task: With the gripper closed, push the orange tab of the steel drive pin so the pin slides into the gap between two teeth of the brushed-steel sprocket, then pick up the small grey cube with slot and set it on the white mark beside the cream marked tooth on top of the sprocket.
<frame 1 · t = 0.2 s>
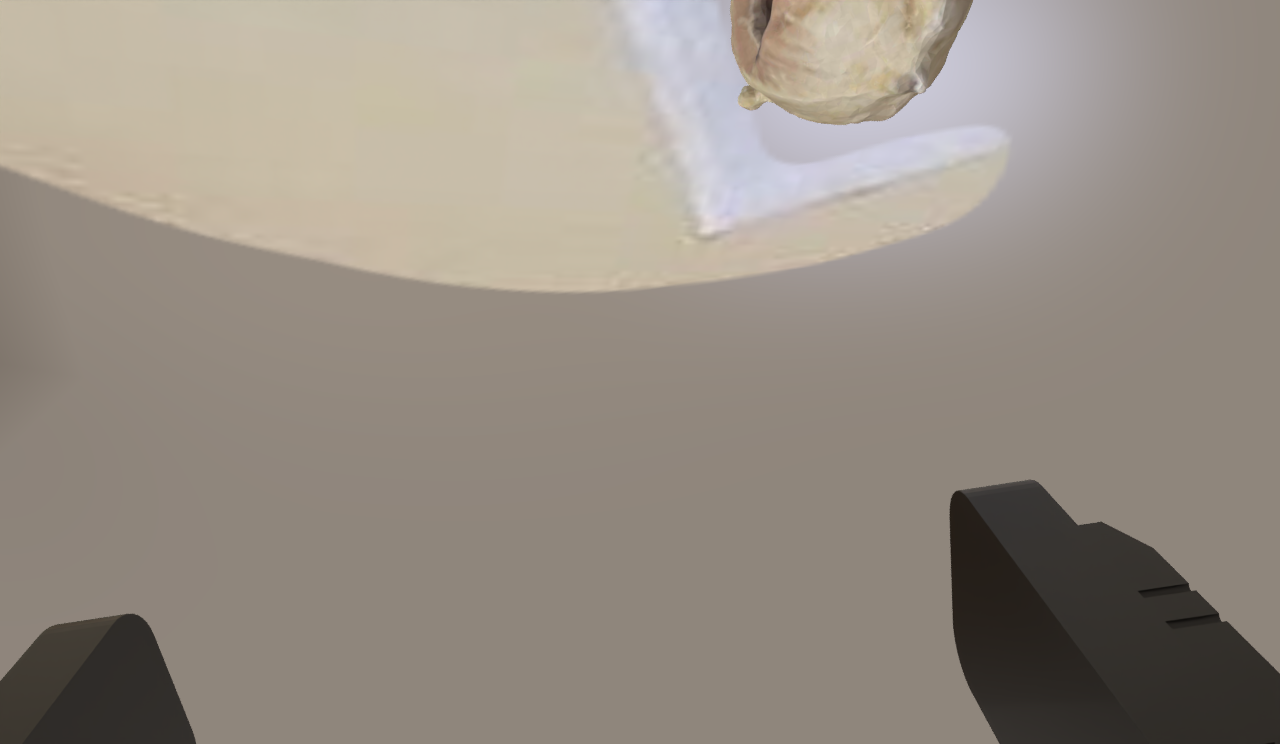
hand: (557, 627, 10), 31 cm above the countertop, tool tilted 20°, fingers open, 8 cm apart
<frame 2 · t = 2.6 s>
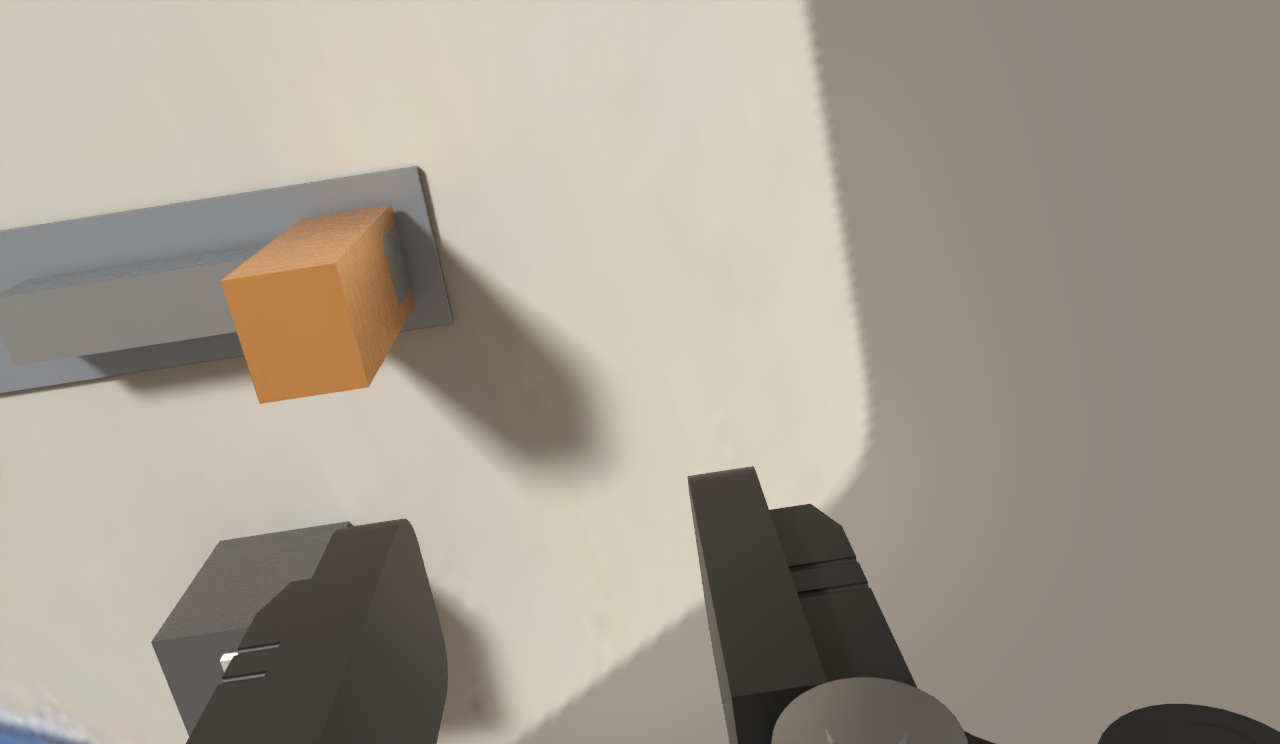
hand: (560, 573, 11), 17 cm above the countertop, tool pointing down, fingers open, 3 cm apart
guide: (166, 287, 27), on the countertop
grey cube with slot: (302, 585, 30), on the countertop
drive pin: (176, 318, 23), point 4 cm above the countertop, slide at 0.0 cm
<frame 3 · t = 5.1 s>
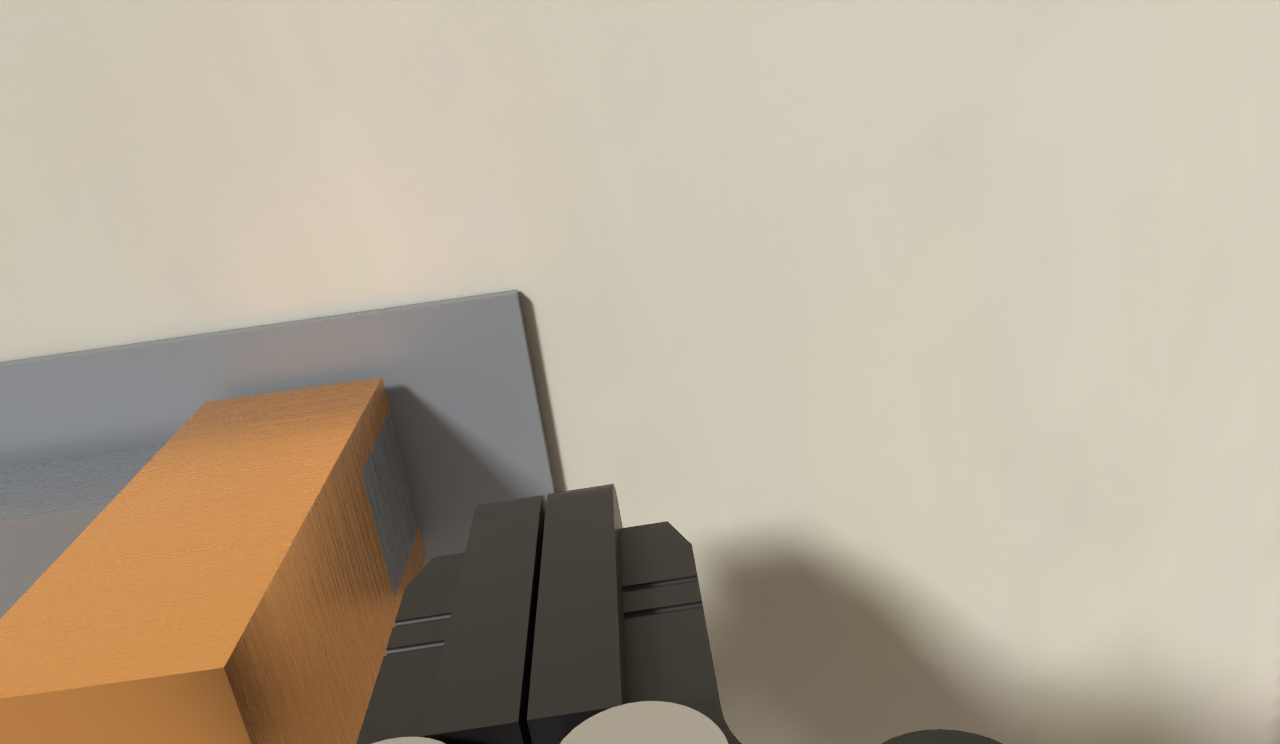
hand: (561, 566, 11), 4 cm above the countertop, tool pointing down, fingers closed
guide: (30, 506, 14), on the countertop
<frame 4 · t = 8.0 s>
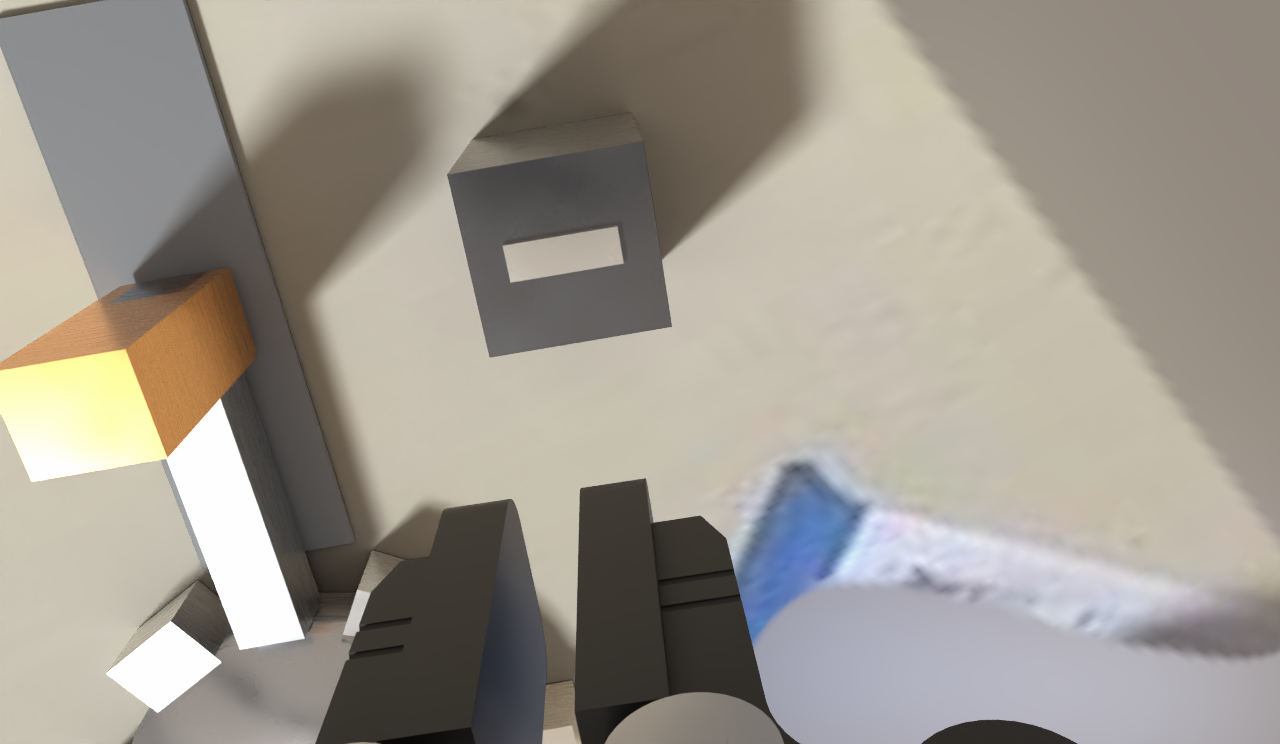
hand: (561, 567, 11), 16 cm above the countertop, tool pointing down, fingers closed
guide: (194, 308, 25), on the countertop
grey cube with slot: (566, 204, 25), on the countertop
drive pin: (195, 507, 23), point 3 cm above the countertop, slide at 5.7 cm, touching sprocket
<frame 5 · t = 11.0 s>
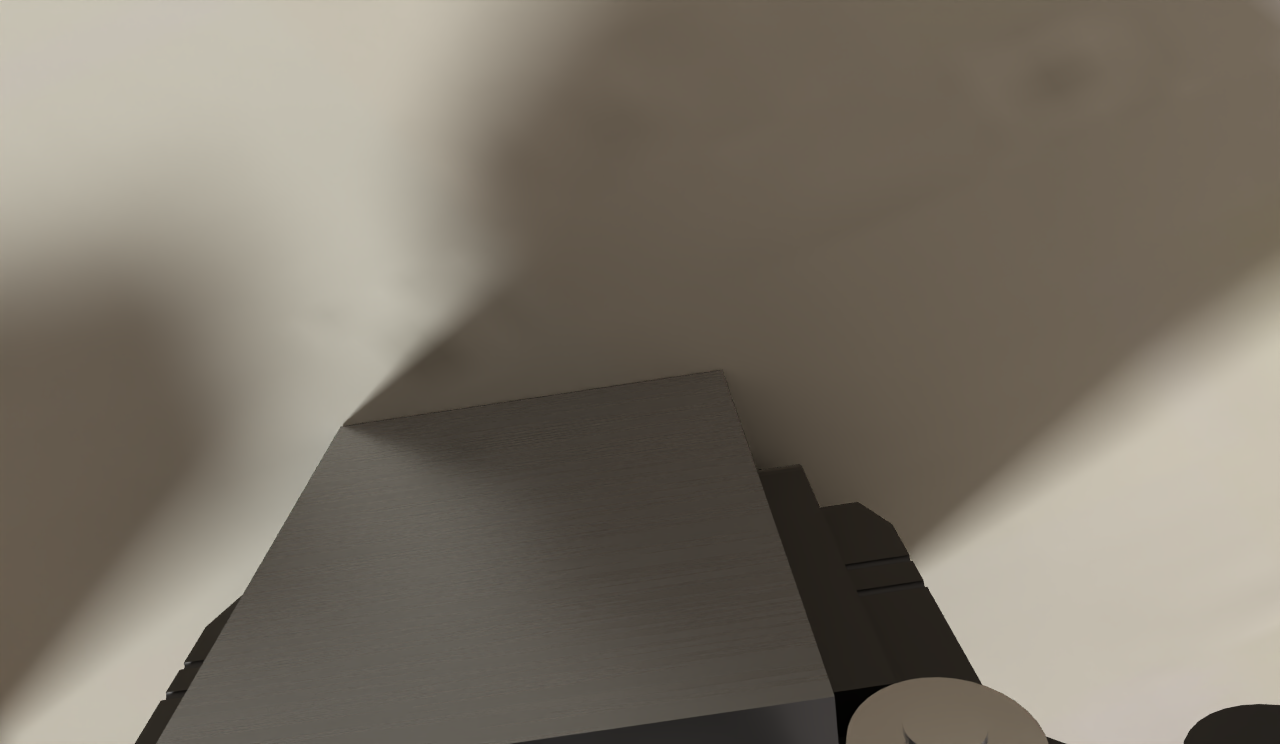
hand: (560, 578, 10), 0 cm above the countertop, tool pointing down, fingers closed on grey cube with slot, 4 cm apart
grey cube with slot: (563, 562, 11), on the countertop, touching gripper
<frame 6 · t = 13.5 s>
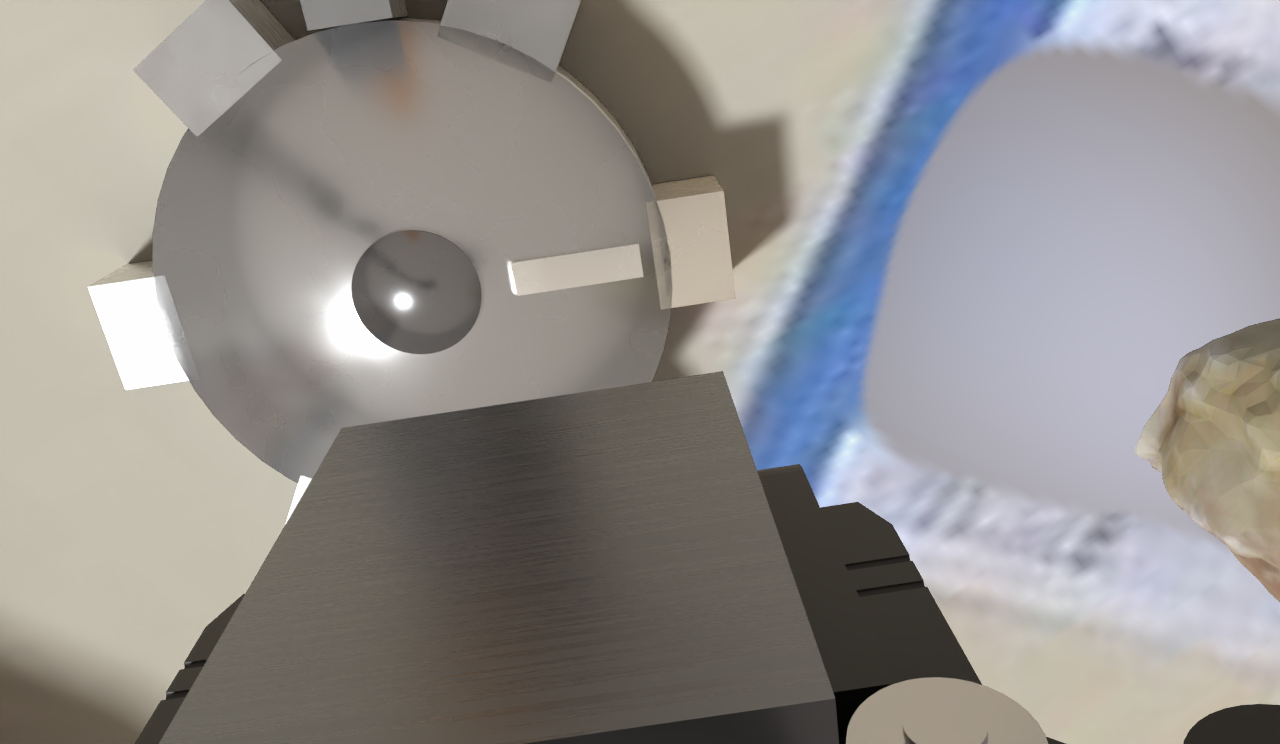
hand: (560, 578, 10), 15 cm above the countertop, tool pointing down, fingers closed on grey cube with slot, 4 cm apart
grey cube with slot: (564, 563, 11), point 15 cm above the countertop, touching gripper
garlic bulb: (1258, 422, 28), on the countertop
sprocket: (430, 270, 25), on the countertop
when the fingers open (3 cm above the countertop, at t = 16.0 s): grey cube with slot stays where it is, resting on sprocket.
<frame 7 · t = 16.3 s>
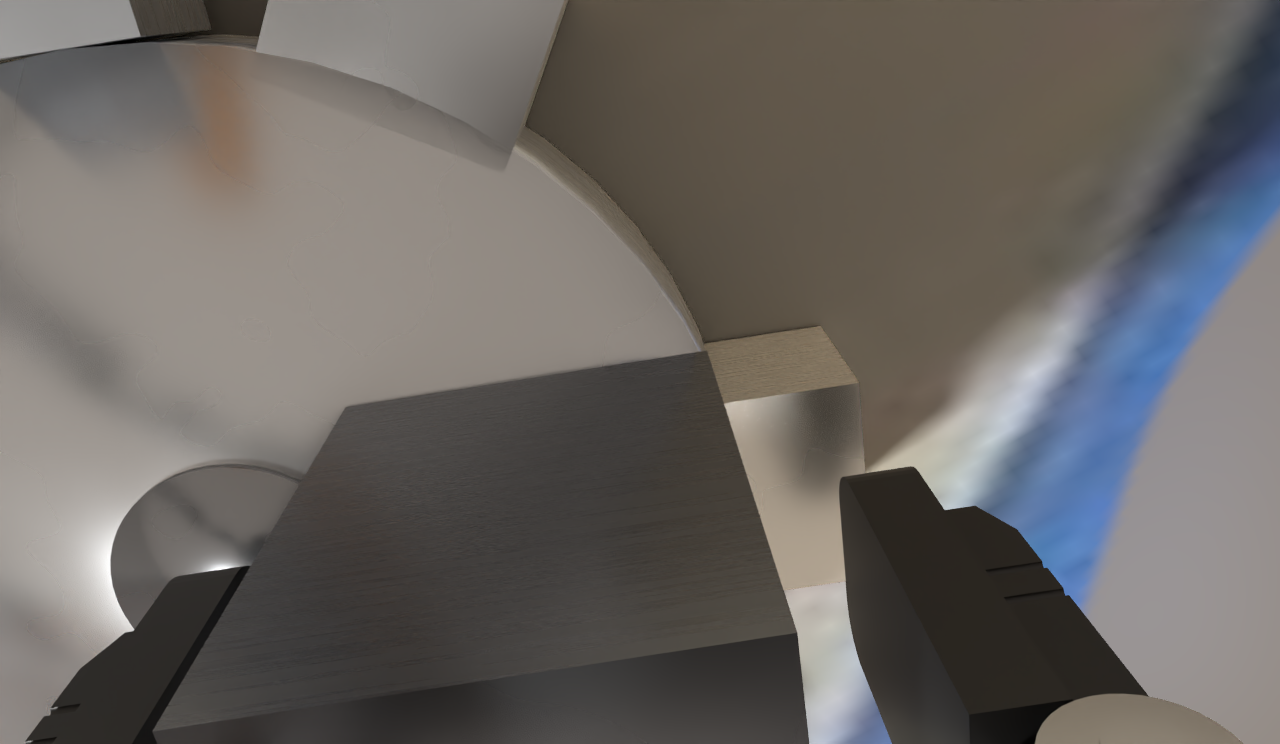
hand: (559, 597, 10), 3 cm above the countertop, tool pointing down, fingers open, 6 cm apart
grey cube with slot: (558, 535, 11), point 2 cm above the countertop, touching sprocket
sprocket: (294, 495, 13), on the countertop
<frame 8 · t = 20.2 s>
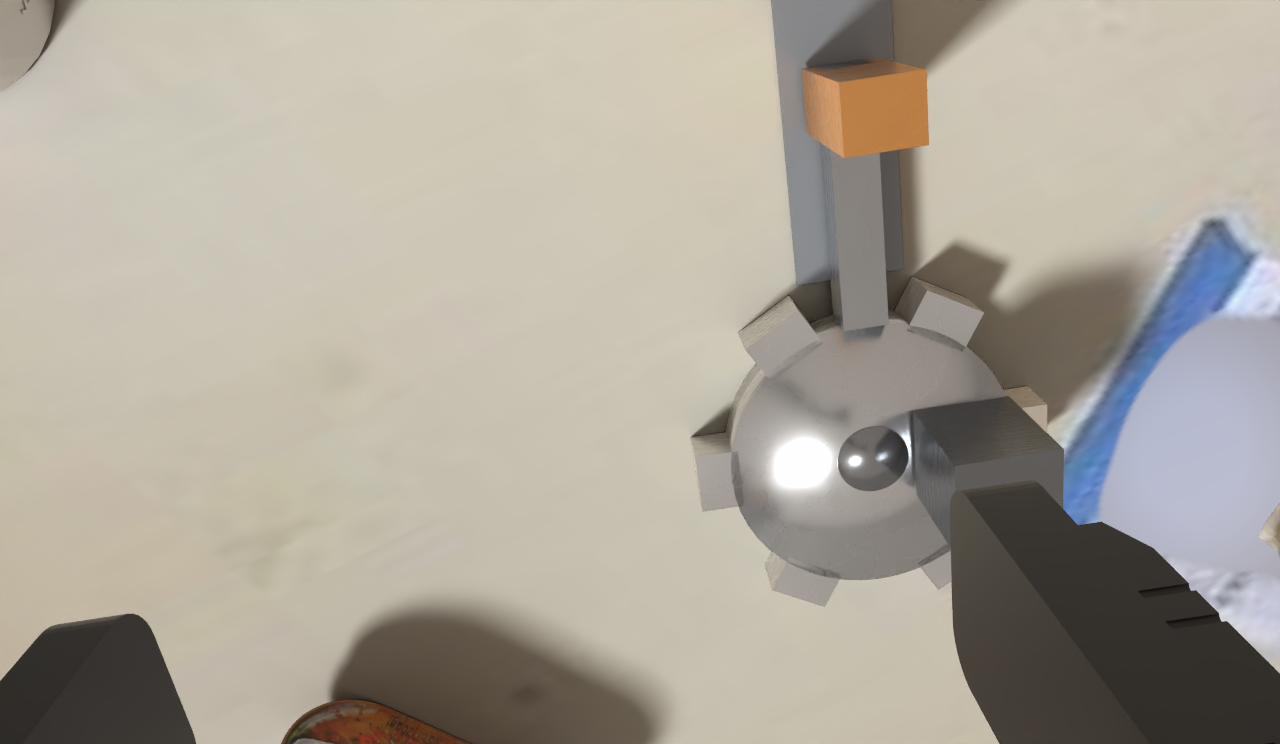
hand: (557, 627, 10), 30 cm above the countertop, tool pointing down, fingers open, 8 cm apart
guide: (836, 89, 37), on the countertop
grey cube with slot: (961, 446, 41), point 2 cm above the countertop, touching sprocket
drive pin: (866, 210, 35), point 3 cm above the countertop, slide at 5.7 cm, touching sprocket
sprocket: (860, 438, 43), on the countertop
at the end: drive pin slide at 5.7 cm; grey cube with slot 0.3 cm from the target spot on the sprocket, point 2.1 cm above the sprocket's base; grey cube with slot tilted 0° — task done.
